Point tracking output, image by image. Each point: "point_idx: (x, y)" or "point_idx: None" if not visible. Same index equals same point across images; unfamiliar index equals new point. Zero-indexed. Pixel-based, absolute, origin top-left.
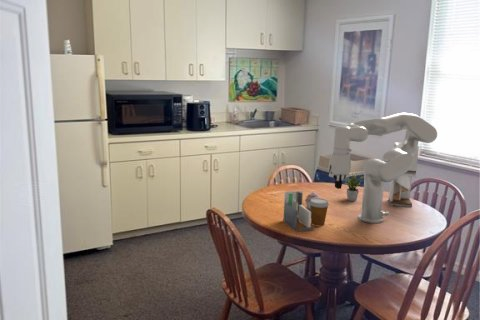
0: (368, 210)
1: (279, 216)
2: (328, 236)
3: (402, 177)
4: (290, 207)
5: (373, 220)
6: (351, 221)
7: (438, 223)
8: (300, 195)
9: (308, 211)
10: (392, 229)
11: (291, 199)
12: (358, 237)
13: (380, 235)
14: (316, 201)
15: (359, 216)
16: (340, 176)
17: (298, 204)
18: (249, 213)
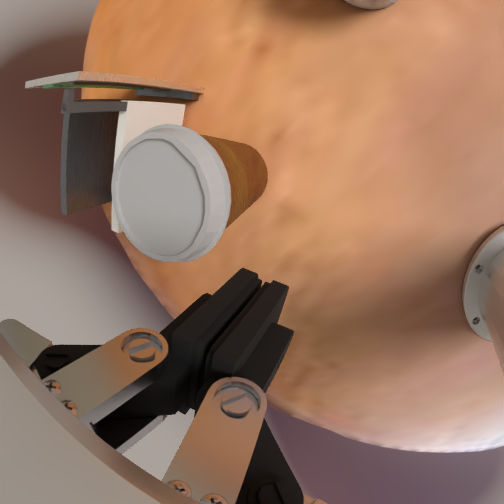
0: (491, 331)
1: (150, 38)
2: (196, 296)
3: None
4: (63, 162)
5: (484, 324)
6: (421, 246)
7: None
8: (73, 112)
9: (112, 218)
10: (457, 391)
11: (78, 86)
12: (284, 363)
13: (368, 396)
14: (141, 191)
15: (489, 249)
16: (217, 450)
17: (130, 86)
18: (98, 5)
